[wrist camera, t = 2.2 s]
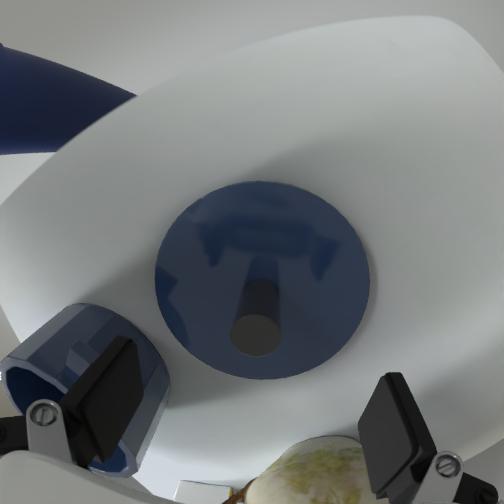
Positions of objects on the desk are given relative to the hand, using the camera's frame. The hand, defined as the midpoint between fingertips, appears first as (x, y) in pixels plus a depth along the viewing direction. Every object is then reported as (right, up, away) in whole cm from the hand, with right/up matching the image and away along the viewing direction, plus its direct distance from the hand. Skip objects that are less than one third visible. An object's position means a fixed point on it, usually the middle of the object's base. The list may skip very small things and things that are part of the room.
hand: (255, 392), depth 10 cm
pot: (-13, -5, +12) cm, 19 cm away
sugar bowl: (+7, -16, +14) cm, 23 cm away
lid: (0, +3, +8) cm, 9 cm away
